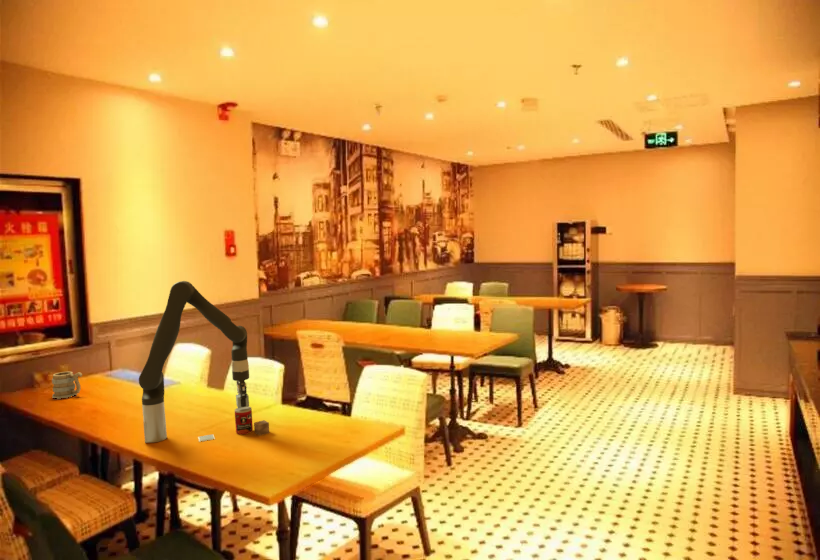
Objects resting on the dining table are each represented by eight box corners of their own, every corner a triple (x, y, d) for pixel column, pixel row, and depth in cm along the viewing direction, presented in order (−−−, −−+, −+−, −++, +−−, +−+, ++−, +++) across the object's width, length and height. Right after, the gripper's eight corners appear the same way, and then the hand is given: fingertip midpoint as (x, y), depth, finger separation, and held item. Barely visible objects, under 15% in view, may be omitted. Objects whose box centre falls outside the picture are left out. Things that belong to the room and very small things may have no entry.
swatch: (199, 441, 263) (199, 441, 263) (197, 437, 270) (197, 436, 270) (215, 439, 266) (214, 438, 266) (213, 434, 272) (213, 433, 272)
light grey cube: (238, 408, 271) (237, 397, 270) (236, 405, 275) (235, 395, 275) (249, 406, 273) (248, 395, 272) (247, 403, 277) (246, 393, 277)
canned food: (235, 435, 270) (234, 412, 269) (236, 430, 278) (234, 407, 277) (253, 433, 272) (251, 410, 271) (252, 428, 280) (251, 405, 279)
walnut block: (259, 435, 269) (258, 425, 268) (254, 433, 273) (253, 422, 272) (269, 433, 272) (268, 422, 271) (264, 430, 276) (263, 420, 275)
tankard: (47, 398, 349) (45, 374, 348) (65, 393, 361) (63, 369, 360) (73, 400, 343) (71, 375, 342) (91, 394, 356) (89, 370, 354)
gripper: (230, 367, 277) (232, 402, 279) (234, 373, 264) (236, 410, 266) (246, 365, 280) (248, 400, 282) (251, 371, 267) (253, 407, 269)
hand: (242, 404), depth 274 cm, fingers closed on light grey cube, 4 cm apart
